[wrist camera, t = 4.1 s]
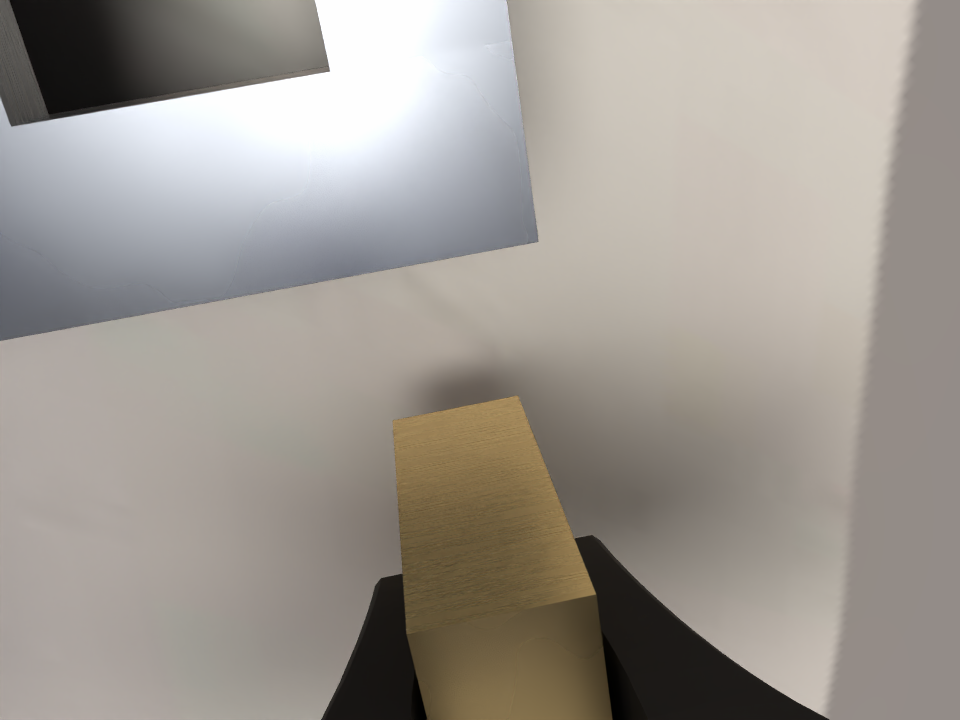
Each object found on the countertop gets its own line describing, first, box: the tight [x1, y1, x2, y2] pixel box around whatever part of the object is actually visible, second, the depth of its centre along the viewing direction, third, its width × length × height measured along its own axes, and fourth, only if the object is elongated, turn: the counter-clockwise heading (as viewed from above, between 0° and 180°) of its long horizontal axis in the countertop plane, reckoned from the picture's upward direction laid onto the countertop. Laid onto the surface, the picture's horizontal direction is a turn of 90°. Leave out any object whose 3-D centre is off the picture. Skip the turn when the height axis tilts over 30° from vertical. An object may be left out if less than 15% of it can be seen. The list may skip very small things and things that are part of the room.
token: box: [393, 396, 613, 720], centre depth 12 cm, size 5×2×5 cm, turn 9°
